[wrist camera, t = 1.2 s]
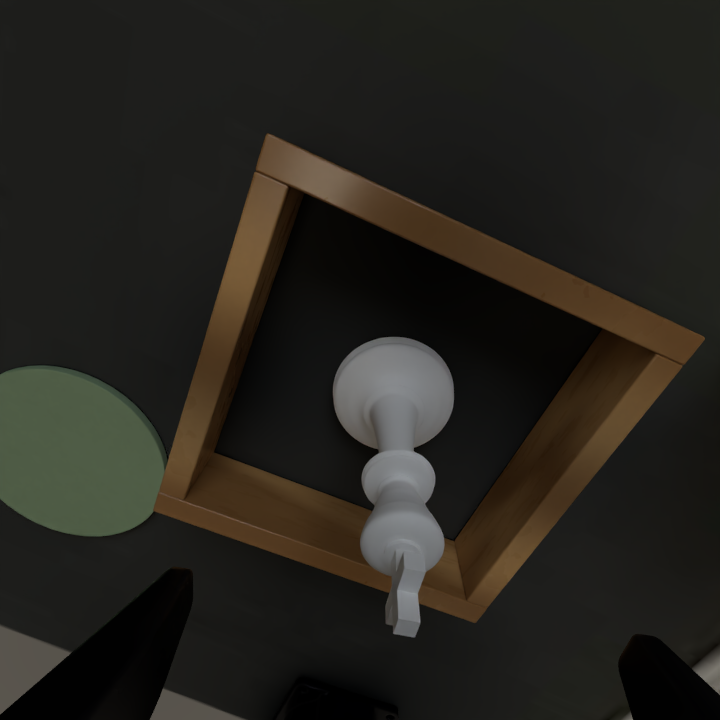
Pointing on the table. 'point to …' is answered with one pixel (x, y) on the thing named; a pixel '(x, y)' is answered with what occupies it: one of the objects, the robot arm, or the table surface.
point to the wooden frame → (522, 474)
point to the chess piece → (397, 460)
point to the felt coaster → (76, 452)
